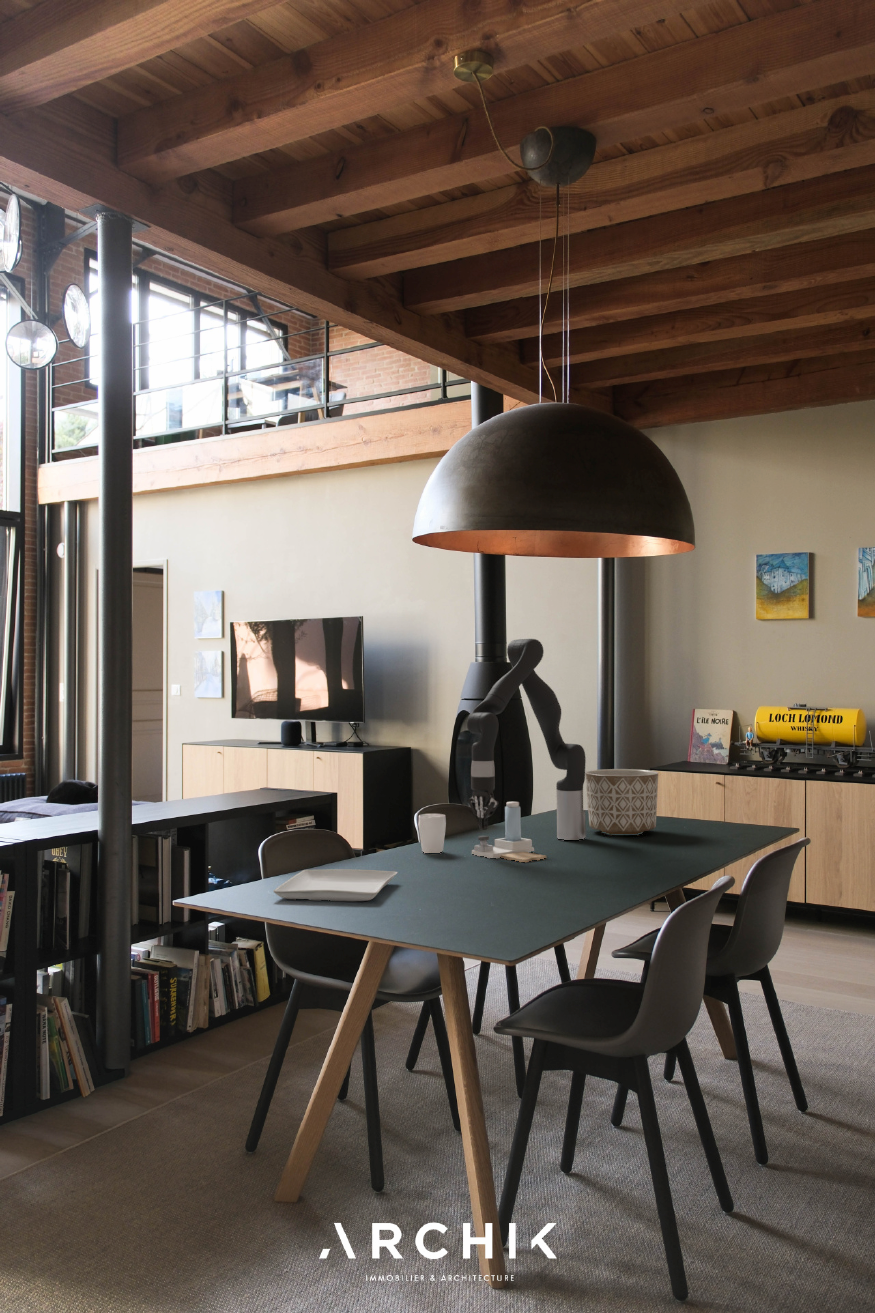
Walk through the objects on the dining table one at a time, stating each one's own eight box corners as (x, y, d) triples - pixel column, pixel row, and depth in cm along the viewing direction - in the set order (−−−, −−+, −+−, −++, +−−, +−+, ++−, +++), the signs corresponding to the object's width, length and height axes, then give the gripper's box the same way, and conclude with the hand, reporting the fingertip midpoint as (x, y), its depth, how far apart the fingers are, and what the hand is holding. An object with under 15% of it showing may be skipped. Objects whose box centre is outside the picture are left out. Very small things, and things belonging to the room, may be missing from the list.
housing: (512, 848, 327) (512, 836, 327) (534, 852, 319) (533, 839, 319) (471, 854, 316) (471, 842, 316) (492, 859, 308) (492, 846, 308)
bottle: (513, 845, 324) (512, 801, 324) (524, 847, 320) (523, 802, 320) (502, 847, 321) (501, 802, 321) (512, 849, 317) (512, 803, 317)
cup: (444, 855, 316) (443, 817, 316) (416, 854, 317) (415, 817, 317) (448, 850, 325) (447, 813, 325) (421, 849, 326) (420, 813, 326)
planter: (595, 839, 343) (594, 776, 344) (579, 828, 369) (578, 769, 369) (669, 837, 345) (668, 775, 346) (647, 827, 371) (646, 768, 372)
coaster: (523, 854, 315) (523, 851, 315) (546, 858, 307) (546, 855, 307) (500, 858, 309) (500, 855, 309) (523, 862, 301) (523, 859, 301)
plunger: (484, 847, 317) (484, 835, 317) (491, 848, 315) (491, 836, 315) (476, 848, 315) (476, 836, 315) (483, 850, 313) (483, 837, 313)
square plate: (303, 881, 278) (303, 868, 278) (398, 884, 274) (398, 870, 274) (272, 903, 251) (272, 888, 251) (377, 906, 247) (377, 890, 247)
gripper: (505, 775, 313) (505, 830, 312) (478, 772, 323) (478, 826, 323) (487, 777, 308) (488, 832, 308) (460, 774, 318) (460, 828, 318)
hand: (483, 829), depth 315 cm, fingers closed
